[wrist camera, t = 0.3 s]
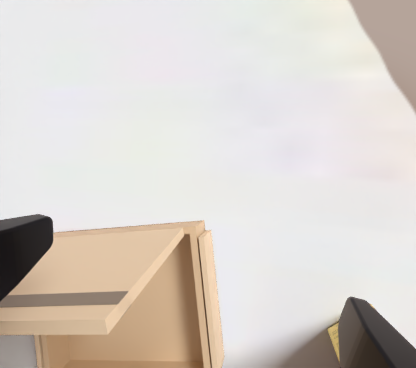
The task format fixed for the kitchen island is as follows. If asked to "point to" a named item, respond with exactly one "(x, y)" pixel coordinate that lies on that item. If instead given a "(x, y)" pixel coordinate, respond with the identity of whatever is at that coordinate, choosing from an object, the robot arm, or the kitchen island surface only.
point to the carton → (154, 314)
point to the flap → (85, 283)
